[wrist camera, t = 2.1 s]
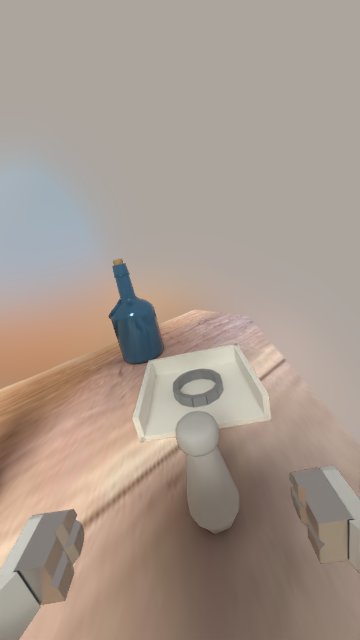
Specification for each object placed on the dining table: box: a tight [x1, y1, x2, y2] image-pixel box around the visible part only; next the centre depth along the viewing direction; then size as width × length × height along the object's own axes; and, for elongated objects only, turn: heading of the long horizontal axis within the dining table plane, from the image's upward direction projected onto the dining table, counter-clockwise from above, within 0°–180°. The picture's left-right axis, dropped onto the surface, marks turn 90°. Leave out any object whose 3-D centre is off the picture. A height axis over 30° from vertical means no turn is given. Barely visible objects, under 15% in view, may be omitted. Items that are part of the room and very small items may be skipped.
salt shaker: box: [175, 411, 239, 535], centre depth 24 cm, size 6×6×13 cm
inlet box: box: [133, 344, 271, 443], centre depth 46 cm, size 20×22×5 cm
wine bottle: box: [109, 259, 164, 364], centre depth 67 cm, size 14×13×30 cm
